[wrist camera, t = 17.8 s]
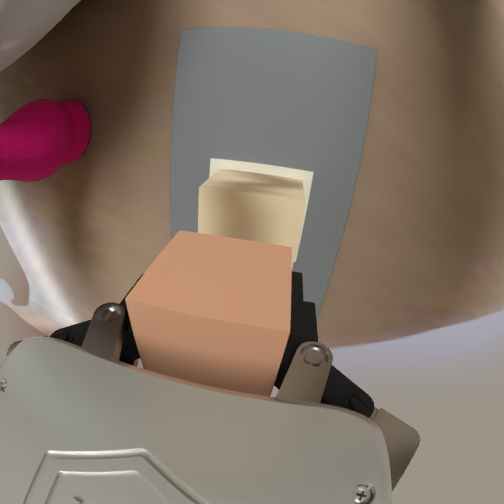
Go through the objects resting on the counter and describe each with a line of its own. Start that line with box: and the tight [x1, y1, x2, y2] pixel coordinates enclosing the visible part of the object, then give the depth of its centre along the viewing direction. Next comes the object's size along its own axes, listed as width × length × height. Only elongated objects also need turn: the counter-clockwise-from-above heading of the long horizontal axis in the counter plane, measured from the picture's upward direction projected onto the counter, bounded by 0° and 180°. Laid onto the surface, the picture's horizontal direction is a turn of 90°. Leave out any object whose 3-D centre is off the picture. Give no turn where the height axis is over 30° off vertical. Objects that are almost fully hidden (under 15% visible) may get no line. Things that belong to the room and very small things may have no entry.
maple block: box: [198, 169, 306, 268], centre depth 19 cm, size 6×6×5 cm
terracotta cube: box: [125, 230, 292, 397], centre depth 11 cm, size 5×5×5 cm
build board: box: [170, 28, 377, 319], centre depth 20 cm, size 14×25×1 cm, turn 174°
